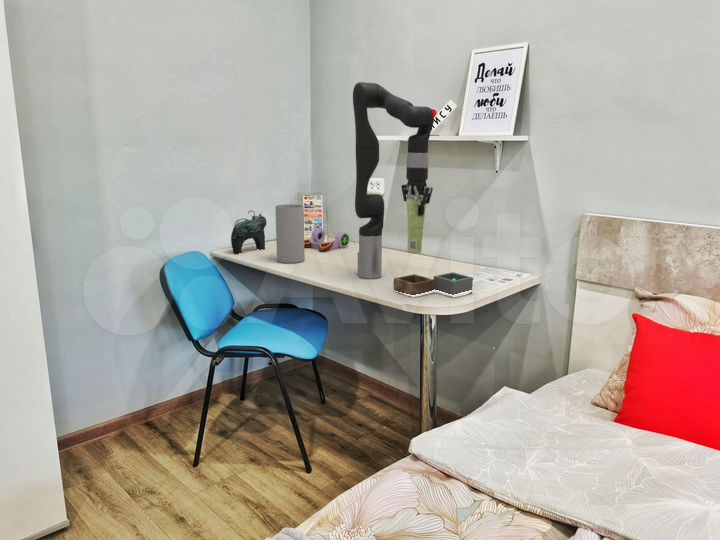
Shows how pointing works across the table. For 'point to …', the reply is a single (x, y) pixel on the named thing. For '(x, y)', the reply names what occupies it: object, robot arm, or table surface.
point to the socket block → (453, 283)
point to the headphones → (318, 239)
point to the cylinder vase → (290, 233)
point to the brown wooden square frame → (413, 284)
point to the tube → (414, 226)
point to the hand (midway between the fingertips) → (415, 214)
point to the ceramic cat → (248, 233)
